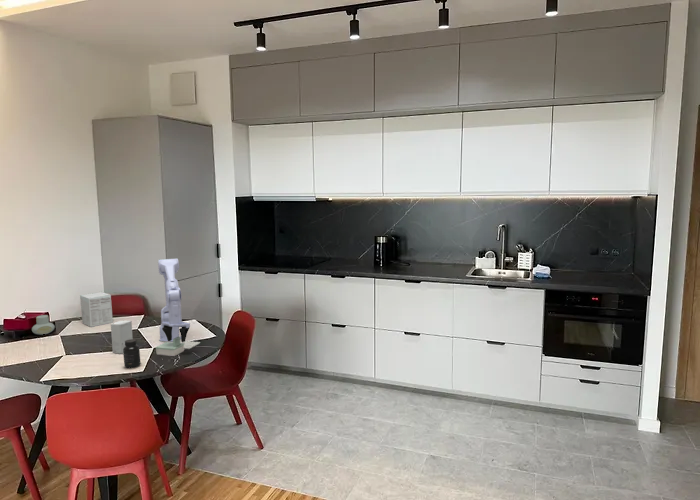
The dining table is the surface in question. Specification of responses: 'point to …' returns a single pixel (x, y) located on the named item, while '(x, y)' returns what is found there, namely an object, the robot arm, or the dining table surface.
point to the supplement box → (96, 309)
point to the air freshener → (43, 325)
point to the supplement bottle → (131, 354)
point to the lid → (171, 344)
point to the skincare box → (120, 335)
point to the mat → (189, 344)
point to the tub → (170, 351)
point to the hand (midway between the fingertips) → (176, 341)
